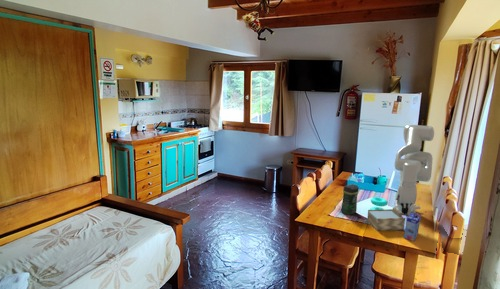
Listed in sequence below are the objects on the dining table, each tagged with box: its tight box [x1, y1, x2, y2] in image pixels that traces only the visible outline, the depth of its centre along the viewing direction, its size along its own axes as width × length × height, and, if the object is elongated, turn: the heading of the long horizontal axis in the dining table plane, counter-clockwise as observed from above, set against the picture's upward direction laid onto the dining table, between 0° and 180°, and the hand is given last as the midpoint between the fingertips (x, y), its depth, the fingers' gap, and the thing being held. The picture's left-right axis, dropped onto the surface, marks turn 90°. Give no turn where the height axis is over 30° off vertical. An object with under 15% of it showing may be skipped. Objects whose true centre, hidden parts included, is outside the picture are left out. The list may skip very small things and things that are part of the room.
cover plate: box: [369, 207, 404, 221], centre depth 174 cm, size 16×10×4 cm, turn 95°
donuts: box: [369, 196, 389, 210], centre depth 191 cm, size 10×10×10 cm
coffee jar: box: [340, 183, 360, 216], centre depth 191 cm, size 10×8×19 cm
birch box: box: [366, 208, 406, 232], centre depth 175 cm, size 16×12×8 cm
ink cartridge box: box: [403, 212, 422, 242], centre depth 163 cm, size 10×6×14 cm, turn 140°
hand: (404, 213), depth 175 cm, fingers closed
